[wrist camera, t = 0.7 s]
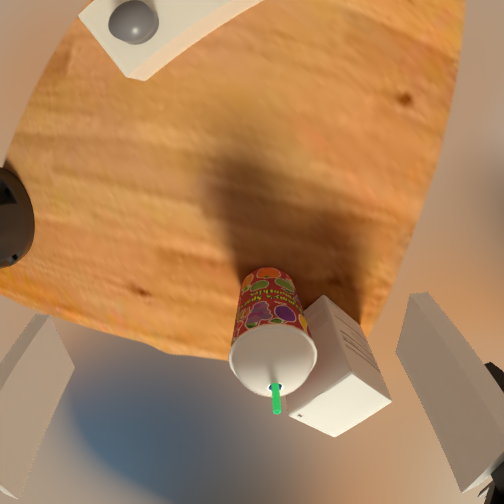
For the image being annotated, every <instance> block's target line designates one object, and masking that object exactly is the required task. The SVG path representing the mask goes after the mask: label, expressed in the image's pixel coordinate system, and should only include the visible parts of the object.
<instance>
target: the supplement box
mask: <svg viewBox="0 0 504 504" xmlns="http://www.w3.org/2000/svg"><path fill="white" fill-rule="evenodd" d="M303 312H304V315H305V318H306V320H307V323H308V326H309V329H310V332H311V335H312V338H313V341H314V344H315V346H316V348H317V361H316V363H315V365H314V367H313V369H312V371H311V372H310V373H309V375H308V377H307V379H306V381H305V382H304V383H303V384H302V385H301V386H300V387H299V388H298V389H296V390H295V391H293V392H291V393H289V394H287V395H286V403H287V412H288V415H289V416H291V417H293V418H295V419H297V420H299V421H301V422H303V423H305V424H307V425H309V426H312V427H314V428H316V429H318V430H320V431H322V432H324V433H326V434H328V435H330V436H333V437H336V436H338V435H340V434H341V433H343V432H345V431H347V430H348V429H350V428H352V427H353V426H355V425H356V424H358V423H360V422H361V421H363V420H364V419H366V418H368V417H369V416H371V415H372V414H374V413H375V412H377V411H378V410H380V409H381V408H383V407H384V406H386V405H387V404H389V403H390V402H392V399H391V396H390V394H389V391H388V389H387V387H386V384H385V382H384V379H383V377H382V375H381V372H380V370H379V368H378V365H377V363H376V361H375V358H374V356H373V353H372V351H371V349H370V346H369V344H368V342H367V340H366V337H365V335H364V333H363V331H362V328H361V326H360V325H359V324H358V323H357V322H356V321H355V320H353V319H352V318H351V317H350V316H349V315H348V314H346V313H345V312H344V311H343V310H342V309H341V308H339V307H338V306H337V305H336V304H335V303H333V302H332V301H331V300H330V299H329V298H328V297H326V296H325V295H322V296H321V297H320V298H318V299H317V300H316V301H315V302H314V303H313V304H312V305H310V306H309V307H308V308H307V309H306V310H305V311H303Z"/></svg>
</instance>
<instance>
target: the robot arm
mask: <svg viewBox="0 0 504 504" xmlns="http://www.w3.org/2000/svg"><path fill="white" fill-rule="evenodd" d="M33 238H34V215H33V210H32V206H31V203H30V200H29V197H28V195H27V193H26V191H25V189H24V187H23V186H22V184H21V183H20V181H19V180H18V179H17V178H16V177H15V176H14V175H13V174H12V173H11V172H9V171H8V170H6V169H4V168H1V167H0V269H1V268H5V267H9V266H11V265H13V264H15V263H17V262H18V261H19V260H20V259H21V258H23V257H24V256H25V255H26V254H27V252H28V251H29V249H30V247H31V245H32V242H33ZM396 354H397V356H398V358H399V360H400V362H401V364H402V365H403V367H404V369H405V371H406V373H407V375H408V377H409V379H410V381H411V383H412V385H413V387H414V389H415V391H416V393H417V395H418V397H419V399H420V401H421V403H422V405H423V407H424V409H425V411H426V413H427V416H428V417H429V420H430V422H431V424H432V426H433V428H434V430H435V433H436V435H437V437H438V439H439V441H440V444H441V446H442V448H443V450H444V453H445V455H446V457H447V459H448V462H449V464H450V466H451V469H452V471H453V474H454V476H455V478H456V481H457V483H458V486H459V488H460V491H461V493H463V492H465V491H467V490H469V489H471V488H473V487H475V486H477V485H479V484H481V483H482V482H483V481H485V480H486V479H487V478H488V477H489V476H490V475H491V476H492V478H493V481H492V482H491V483H489V484H488V485H487V486H486V487H485V488H484V489H483V490H482V491H481V492H480V493H479V495H478V497H479V498H481V497H482V496H483V495H484V494H485V493H486V492H487V495H486V497H485V498H484V499H485V502H484V504H504V372H503V371H502V370H501V369H499V368H498V367H497V366H495V365H494V364H493V363H491V362H489V363H487V364H483V363H482V361H481V360H480V358H479V357H478V356H477V354H476V353H475V351H474V350H473V349H472V347H471V346H470V345H469V343H468V342H467V341H466V339H465V338H464V337H463V335H462V334H461V333H460V332H459V330H458V329H457V328H456V327H455V325H454V324H453V323H452V321H451V320H450V319H449V318H448V316H447V315H446V314H445V313H444V311H443V310H442V309H441V308H440V306H439V305H438V304H437V303H436V302H435V300H434V299H433V298H432V297H431V296H430V294H429V293H428V292H423V293H416V294H410V296H409V301H408V305H407V309H406V314H405V318H404V322H403V326H402V330H401V334H400V337H399V341H398V345H397V348H396ZM74 369H75V367H74V365H73V363H72V361H71V359H70V357H69V355H68V353H67V351H66V349H65V347H64V345H63V342H62V340H61V338H60V336H59V334H58V332H57V330H56V327H55V325H54V323H53V320H52V318H51V316H50V315H37V314H36V315H35V316H34V318H33V319H32V320H31V322H30V323H29V324H28V326H27V327H26V328H25V330H24V331H23V333H22V334H21V335H20V336H19V338H18V339H17V341H16V342H15V344H14V345H13V346H12V348H11V349H10V351H9V352H8V353H7V355H6V356H5V358H4V359H3V361H2V362H1V364H0V490H1V491H2V492H3V493H5V494H7V495H9V496H12V497H14V498H16V499H18V500H20V499H21V495H22V493H23V490H24V487H25V484H26V481H27V478H28V476H29V473H30V470H31V467H32V465H33V462H34V459H35V457H36V454H37V452H38V449H39V447H40V444H41V442H42V439H43V437H44V434H45V432H46V430H47V427H48V425H49V423H50V420H51V418H52V416H53V413H54V411H55V409H56V407H57V404H58V402H59V400H60V398H61V396H62V394H63V391H64V389H65V387H66V385H67V383H68V381H69V379H70V377H71V374H72V373H73V371H74Z"/></svg>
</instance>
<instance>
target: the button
mask: <svg viewBox="0 0 504 504" xmlns="http://www.w3.org/2000/svg"><path fill="white" fill-rule="evenodd" d="M158 27H159V18H158V16H157V14H156V13H155V12H154V11H153V10H152V9H151V8H150V7H149V6H148V5H146V4H145V3H144V2H142V1H139V0H130V1H127V2H124V3H122V4H121V5H119V6H118V7H117V8H116V9H115V10H114V11H113V12H112V14H111V16H110V18H109V22H108V28H109V31H110V33H111V34H112V35H113V36H114V37H115V38H117V39H120V40H122V41H124V42H126V43H128V44H132V45H138V44H142V43H145V42H147V41H148V40H150V39H151V38H152V37H153V36H154V35H155V33H156V32H157V30H158Z"/></svg>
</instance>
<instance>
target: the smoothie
mask: <svg viewBox="0 0 504 504" xmlns="http://www.w3.org/2000/svg"><path fill="white" fill-rule="evenodd" d="M228 359H229V364H230V368H231V369H232V371H233V372H234V373H235V375H236V376H237V377H238V378H239V379H240V380H241V382H242V383H243V385H244V386H246V387H247V388H248V389H249V390H251V391H252V392H254V393H256V394H259V395H262V396H266V397H272V402H273V413H274V414H280V413H281V403H280V396H283V395H287V394H289V393H291V392H293V391H295V390H296V389H298V388H299V387H300V386H301V385H302V384H303V383H304V382H305V381H306V379H307V377H308V375H309V373H310V372H311V371H312V369H313V367H314V365H315V363H316V361H317V348H316V346H315V344H314V341H313V338H312V335H311V332H310V329H309V326H308V323H307V320H306V318H305V315H304V312H303V309H302V306H301V303H300V300H299V297H298V294H297V292H296V289H295V286H294V283H293V281H292V279H291V278H290V277H289V276H288V275H287V274H286V273H285V272H283V271H281V270H279V269H277V268H273V267H262V268H259V269H257V270H255V271H253V272H251V273H250V274H249V275H248V276H247V277H246V278H245V279H244V281H243V283H242V285H241V290H240V296H239V302H238V308H237V314H236V320H235V326H234V331H233V337H232V343H231V349H230V353H229V356H228Z"/></svg>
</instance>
